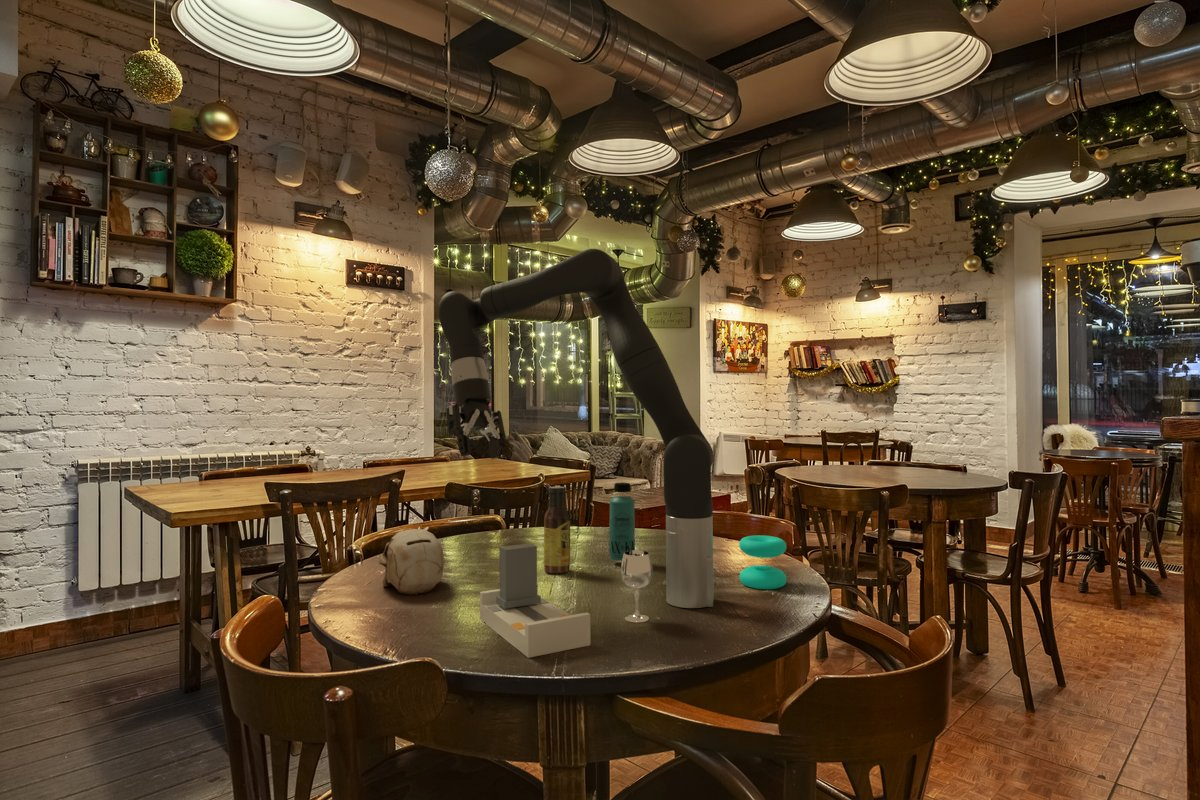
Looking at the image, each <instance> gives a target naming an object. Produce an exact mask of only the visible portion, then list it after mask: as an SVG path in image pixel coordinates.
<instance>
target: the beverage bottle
mask: <svg viewBox="0 0 1200 800" xmlns="http://www.w3.org/2000/svg"><path fill="white" fill-rule="evenodd" d="M613 485H614V487H613V492H615V493H629V492H630V493H631V491H632V490H631V484H630V482H615V483H614V484H613ZM635 501H636V500H634V499H633V497H631V496H630V495H615V496H613V497H611V499H610V500H609V522H608V530H609V531H608V554H609V555H608V556H609V559H610V560H612V561H618V562H619V561H621V562H622V559H623V555H624V552H626V551H632V550H636V547H635V546H636V538H635V536H636V530H635V529H636V528H635V526H636V522H635V521H636V520H635V519H636V517H635V505H636V504H635Z"/></svg>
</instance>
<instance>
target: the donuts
mask: <svg viewBox="0 0 1200 800" xmlns="http://www.w3.org/2000/svg"><path fill="white" fill-rule="evenodd" d="M738 546H739V548H740V550H741V552H742V553H744V554H745V555H747V556H749V557H754V558H762V559H771V558H777V557H780V556H782V555H783V554H784V553H785V552H786V550H787V548H788V547H787V543H786V541H785V540H783V539H782V538H780V537H777V536H771V535H763V534H762V535H758V534H757V535H748V536H745V537H742V538H741V539H740V541H739V544H738ZM739 581H740V582H741V583H742V584H743V585H744V586H746V587H749V588H752V589H758V590H776V589H779V588H782V587H784V586H785V585H786V583H787V581H788V578H787V574H786V573H785V572H784V571H783V570H781V569H779V568H778V567H775V566H771V565H763V564H762V565H761V564H760V565H757V564H756V565H750V566H747V567H744V569H742V570H741V571H740V573H739Z"/></svg>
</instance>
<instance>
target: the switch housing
mask: <svg viewBox="0 0 1200 800" xmlns="http://www.w3.org/2000/svg"><path fill="white" fill-rule="evenodd" d="M538 589H539V588H538V584H537V594H538V592H539V591H538ZM538 595H539V594H538ZM496 596H500V588H498V589H491V590H484V591H480V592H479V619H481V621H482V622H483V623H484V622H485V623H486V624H485V623H484V624H485V625H487V626H488V627H489V628H490V629H492V630H493V631H494V632H495V633H496V634H498V635H499V636H501V638H503V640H505V641H506V642H507V643H509V644H511V646H513V647H514V648H515V649H517V650H518V651H519V652H520V653H521V654H523V655H524V656H526V657H527V659H528V658H534V657H538V656H539V657H540V656H543V655H549V654H554V653H558V652H563V651H567V650H572V649H573V650H574V649H578V648H583V647H588V646H591V614H590V613H588V612H582V613H581V612H580V613H576V614H570V613H568V612H567V611H565V610H563V609H562V608H559V607H558V606H555V605H554V604H552V603H551V602H549V601H548V600H546V599H544V598H542V597H541V603H537V604H531V605H525V606H519V607H513V608H507V609H504V608H502V607H501V606H500V605H498V604H497V603H496Z"/></svg>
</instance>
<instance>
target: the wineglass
mask: <svg viewBox="0 0 1200 800" xmlns="http://www.w3.org/2000/svg"><path fill="white" fill-rule="evenodd" d="M620 575H621V579H622V582H623V583H624V584H625V585H626V586H628V587H629V588H632V589H634V591H633V592H634V593H633V595H634V599H635V600H634V601H635V610H634V613H633V614H629V615H626V616H625V617H624V620H625V621H626V622H630V623H645V622H648V621H649V620H650V618H649V616H648V615H645V614H641V613H640V611H639V599H640V594H641V593H640V590H639V589H643V588H645V587H646V586H647V585H649V584H650V583H651V581H652V577H653V563H652V560H651V555H650V552H649V551H647V550H639V549H638V550H636V549H635V550H632V551H626V552H624V555H623V559H622V561H621V566H620Z"/></svg>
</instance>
